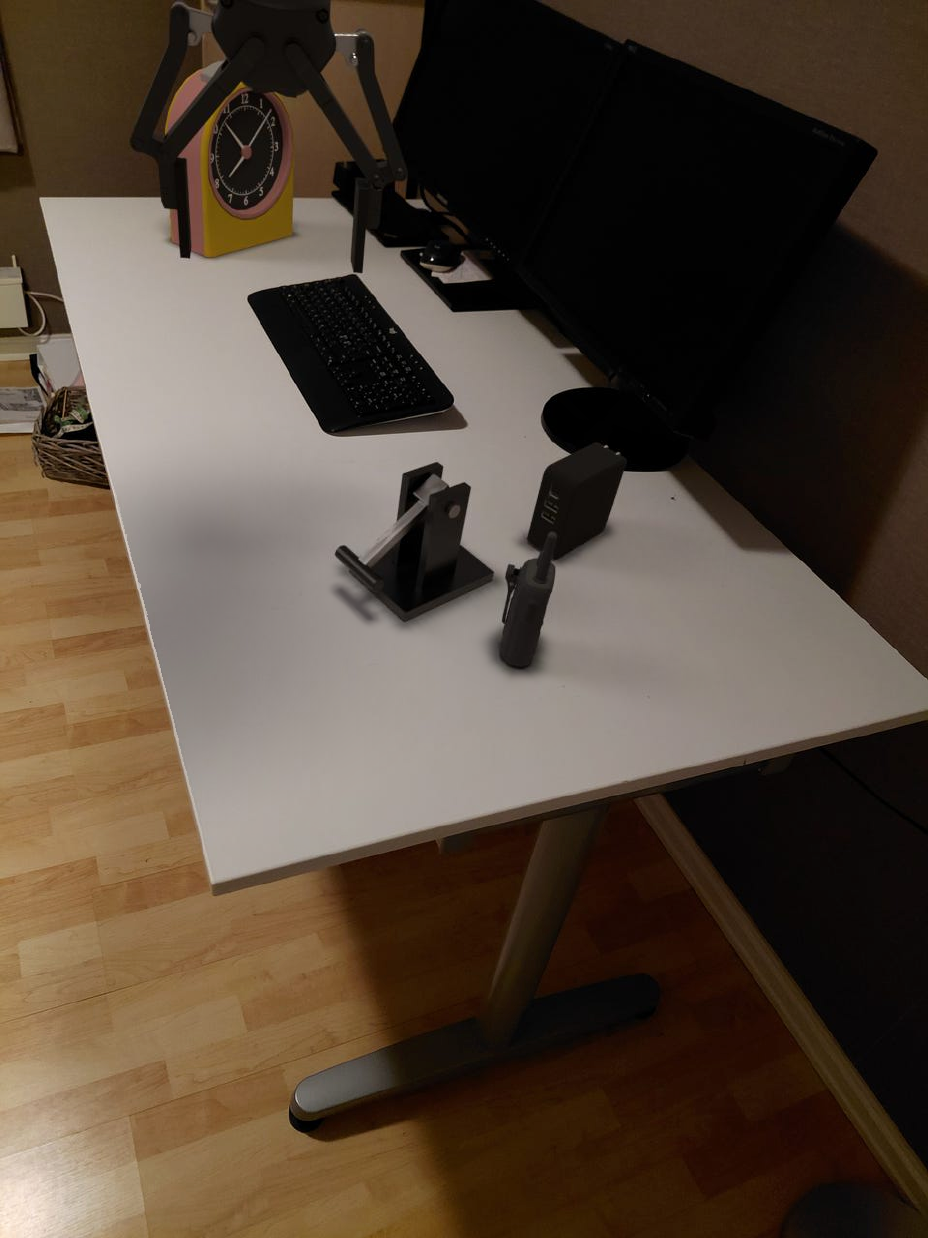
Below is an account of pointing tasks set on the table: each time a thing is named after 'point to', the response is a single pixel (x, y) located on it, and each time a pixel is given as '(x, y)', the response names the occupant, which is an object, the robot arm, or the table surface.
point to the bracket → (429, 551)
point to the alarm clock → (236, 169)
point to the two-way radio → (527, 605)
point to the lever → (389, 536)
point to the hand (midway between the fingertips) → (273, 259)
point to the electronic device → (576, 497)
